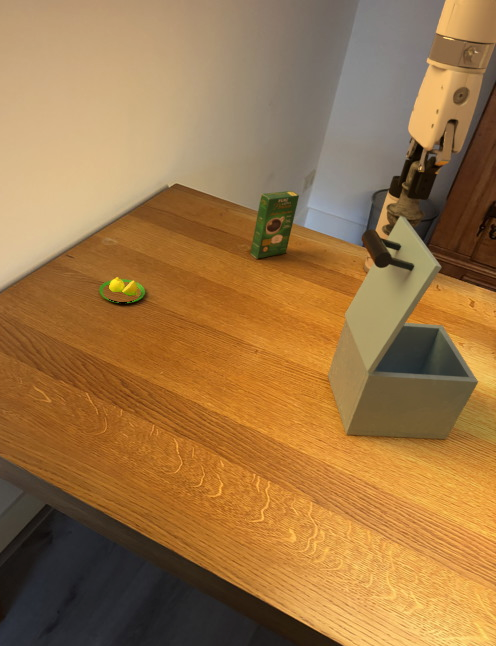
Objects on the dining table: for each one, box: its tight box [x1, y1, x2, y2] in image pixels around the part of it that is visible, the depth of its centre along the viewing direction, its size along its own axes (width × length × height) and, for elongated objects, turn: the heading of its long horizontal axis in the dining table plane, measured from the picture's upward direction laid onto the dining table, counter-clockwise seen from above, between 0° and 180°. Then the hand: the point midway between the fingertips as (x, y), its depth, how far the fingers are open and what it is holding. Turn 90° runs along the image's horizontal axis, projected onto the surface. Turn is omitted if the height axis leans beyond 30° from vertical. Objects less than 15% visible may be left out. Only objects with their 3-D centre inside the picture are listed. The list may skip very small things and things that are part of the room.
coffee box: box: [249, 190, 300, 260], centre depth 111 cm, size 8×3×13 cm, turn 122°
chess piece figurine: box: [382, 161, 426, 236], centre depth 82 cm, size 6×6×12 cm
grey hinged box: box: [327, 319, 479, 440], centre depth 78 cm, size 15×13×11 cm
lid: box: [344, 216, 442, 373], centre depth 68 cm, size 16×13×6 cm
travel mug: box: [363, 175, 403, 274], centre depth 109 cm, size 6×7×20 cm
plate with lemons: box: [99, 276, 146, 304], centre depth 96 cm, size 8×8×3 cm
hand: (412, 191), depth 82 cm, fingers closed on chess piece figurine, 3 cm apart
